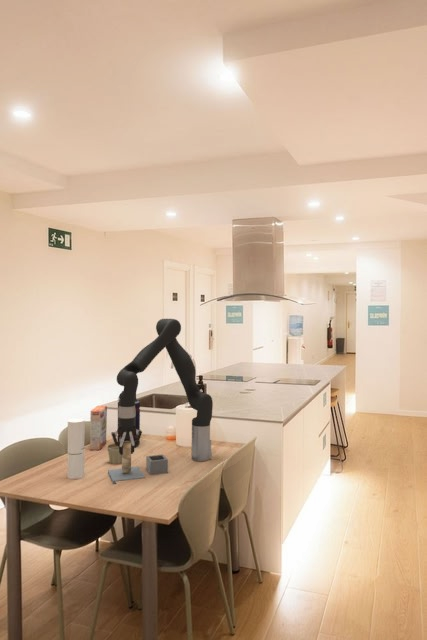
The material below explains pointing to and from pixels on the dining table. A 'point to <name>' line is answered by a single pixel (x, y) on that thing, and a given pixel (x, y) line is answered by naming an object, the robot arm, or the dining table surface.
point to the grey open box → (156, 464)
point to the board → (125, 474)
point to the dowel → (126, 457)
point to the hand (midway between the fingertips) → (126, 453)
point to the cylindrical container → (75, 449)
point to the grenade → (137, 420)
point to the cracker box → (98, 427)
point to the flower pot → (114, 454)
